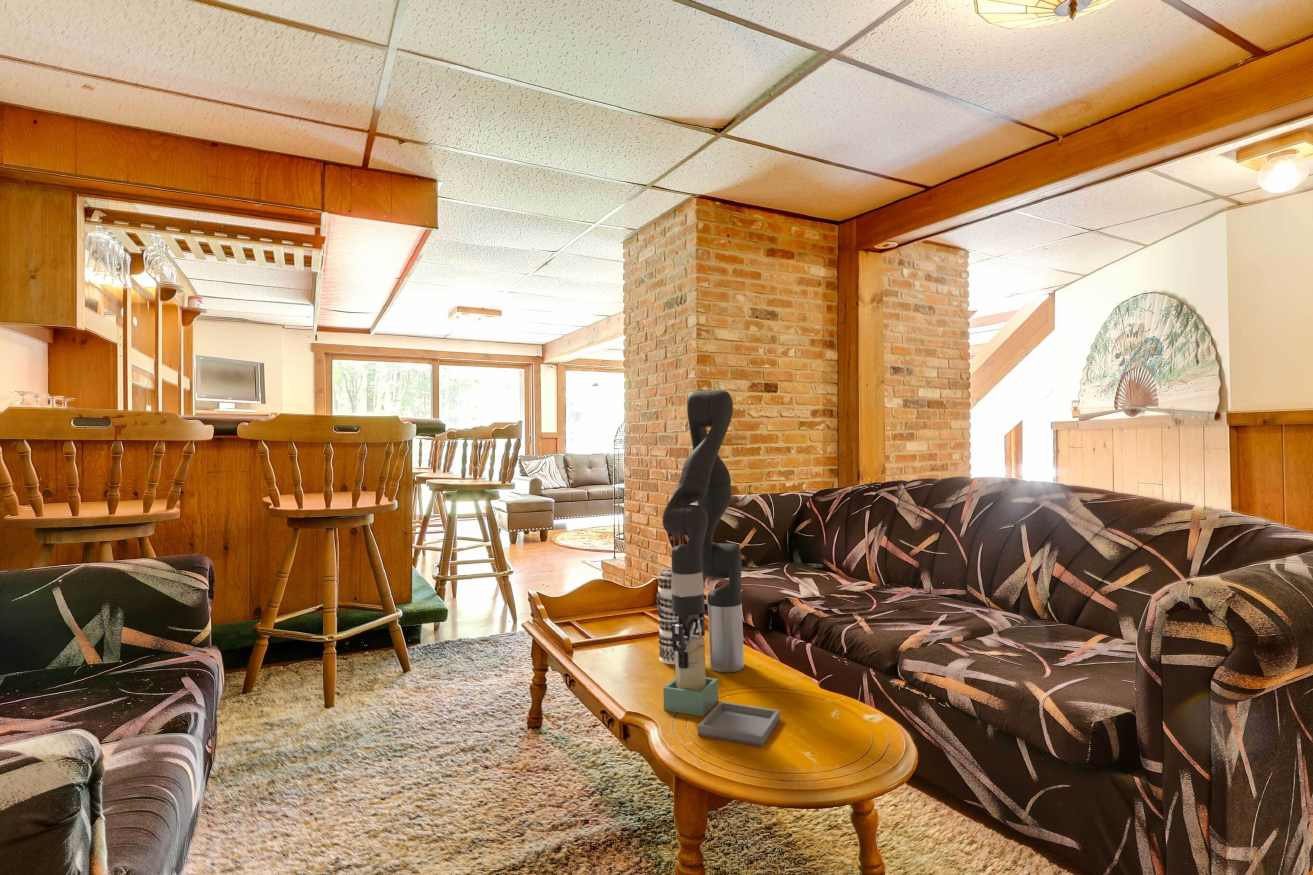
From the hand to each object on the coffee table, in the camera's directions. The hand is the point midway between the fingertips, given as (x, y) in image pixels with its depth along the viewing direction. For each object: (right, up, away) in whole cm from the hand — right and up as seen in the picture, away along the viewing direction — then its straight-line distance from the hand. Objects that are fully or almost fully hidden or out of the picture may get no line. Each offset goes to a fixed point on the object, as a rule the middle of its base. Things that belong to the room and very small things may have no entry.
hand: (690, 662), depth 145 cm
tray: (+10, -9, -13) cm, 19 cm away
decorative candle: (-3, -11, +32) cm, 34 cm away
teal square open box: (0, -10, 0) cm, 10 cm away
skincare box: (0, -7, 0) cm, 7 cm away
